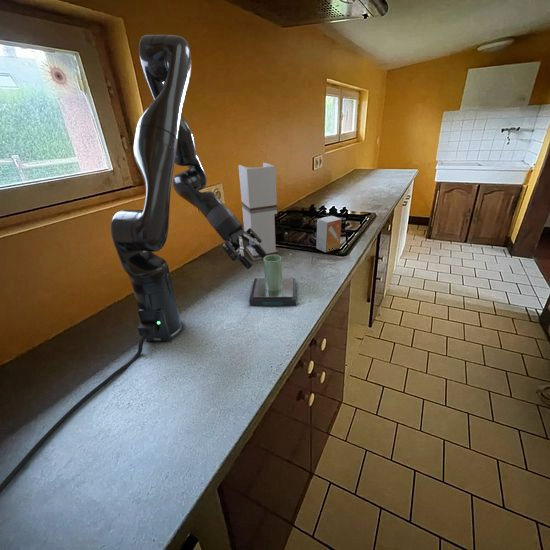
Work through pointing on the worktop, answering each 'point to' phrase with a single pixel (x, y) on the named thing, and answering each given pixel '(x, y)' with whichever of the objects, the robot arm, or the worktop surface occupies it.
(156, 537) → the worktop surface
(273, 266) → the cup
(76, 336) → the worktop surface
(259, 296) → the scale
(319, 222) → the small box
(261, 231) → the tall white tower
